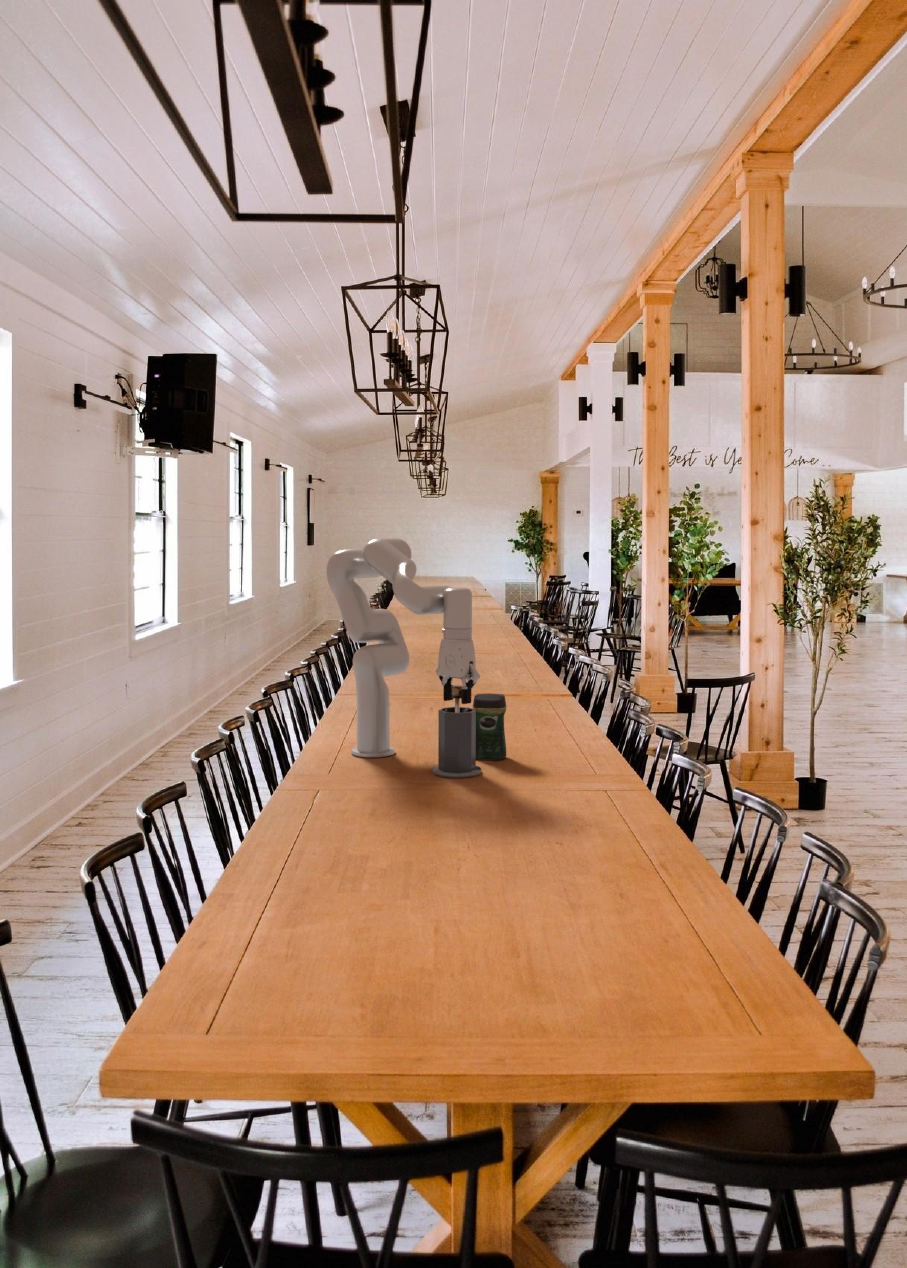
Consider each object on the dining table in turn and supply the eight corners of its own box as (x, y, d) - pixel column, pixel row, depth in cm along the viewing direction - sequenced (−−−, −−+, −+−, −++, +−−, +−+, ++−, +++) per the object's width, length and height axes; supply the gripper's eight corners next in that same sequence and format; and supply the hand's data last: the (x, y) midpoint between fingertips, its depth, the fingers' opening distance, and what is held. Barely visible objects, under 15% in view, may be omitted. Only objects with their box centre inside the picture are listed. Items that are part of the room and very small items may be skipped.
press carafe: (423, 768, 283) (423, 707, 281) (466, 764, 288) (466, 703, 286) (445, 780, 270) (445, 716, 268) (489, 775, 275) (490, 712, 274)
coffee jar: (507, 755, 299) (508, 691, 297) (504, 761, 292) (505, 696, 290) (474, 754, 301) (474, 690, 299) (470, 760, 293) (471, 695, 291)
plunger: (439, 766, 280) (439, 685, 278) (463, 764, 283) (463, 683, 281) (450, 772, 274) (450, 689, 271) (475, 769, 277) (475, 687, 274)
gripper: (424, 633, 278) (424, 699, 280) (471, 638, 266) (471, 707, 268) (444, 631, 283) (444, 696, 285) (491, 636, 271) (490, 704, 273)
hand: (457, 701), depth 276 cm, fingers open, 6 cm apart
